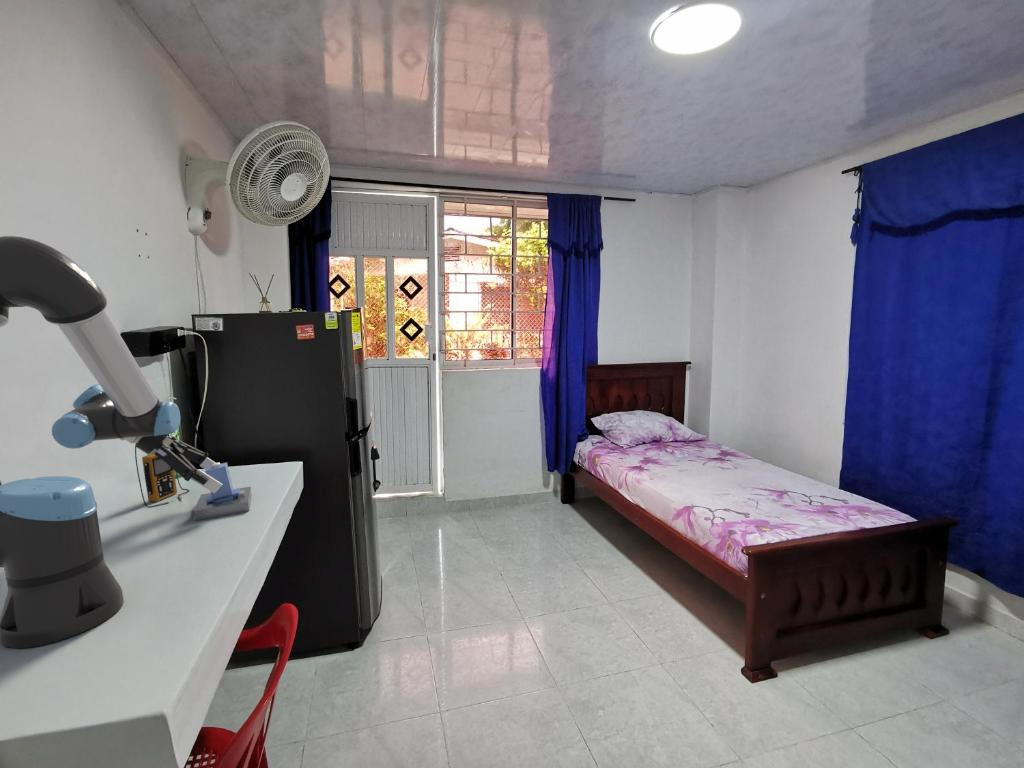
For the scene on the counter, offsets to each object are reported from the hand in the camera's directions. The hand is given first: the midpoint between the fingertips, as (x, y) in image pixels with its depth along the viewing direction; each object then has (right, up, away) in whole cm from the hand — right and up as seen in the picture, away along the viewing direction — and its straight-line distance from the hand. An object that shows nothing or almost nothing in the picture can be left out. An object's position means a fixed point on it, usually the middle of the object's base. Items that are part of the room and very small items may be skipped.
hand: (221, 481), depth 131 cm
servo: (+1, -7, +1) cm, 7 cm away
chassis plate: (0, -7, +1) cm, 7 cm away
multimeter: (-20, -7, +10) cm, 23 cm away
